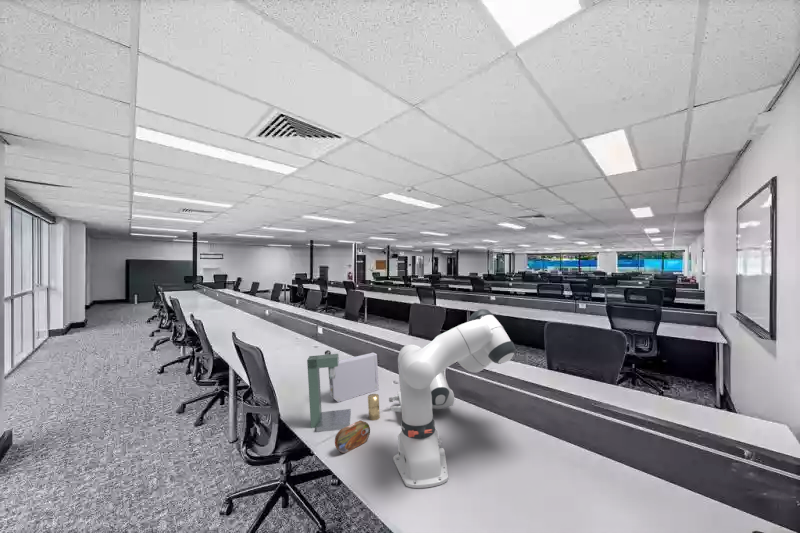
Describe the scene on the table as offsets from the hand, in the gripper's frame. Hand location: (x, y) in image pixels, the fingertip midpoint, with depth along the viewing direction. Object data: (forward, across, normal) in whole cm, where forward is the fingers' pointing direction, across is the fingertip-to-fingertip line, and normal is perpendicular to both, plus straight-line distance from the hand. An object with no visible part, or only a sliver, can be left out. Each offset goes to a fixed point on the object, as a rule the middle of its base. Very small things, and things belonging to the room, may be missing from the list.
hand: (389, 404), depth 143 cm
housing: (+7, 0, +5) cm, 9 cm away
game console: (+16, -28, +6) cm, 33 cm away
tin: (+16, +21, +6) cm, 27 cm away
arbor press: (+27, -3, +5) cm, 28 cm away
